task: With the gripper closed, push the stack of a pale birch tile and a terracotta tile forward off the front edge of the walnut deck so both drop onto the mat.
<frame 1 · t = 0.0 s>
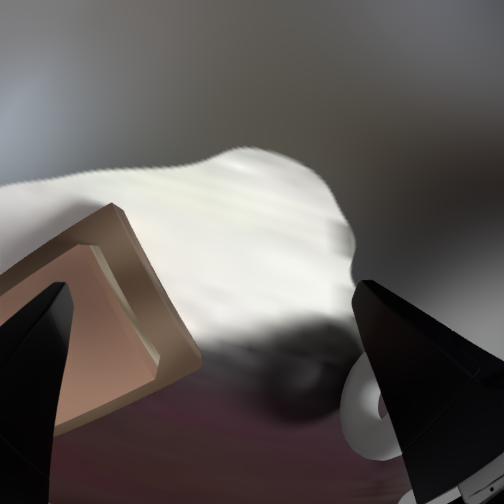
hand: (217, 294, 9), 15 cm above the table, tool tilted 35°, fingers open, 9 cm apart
tile upper: (69, 337, 16), point 6 cm above the table, touching tile lower
donut: (353, 378, 27), on the table
tile lower: (79, 329, 18), point 4 cm above the table, touching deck, tile upper
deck: (85, 323, 22), on the table
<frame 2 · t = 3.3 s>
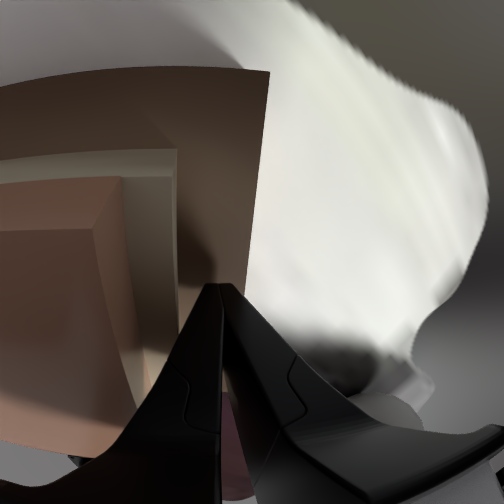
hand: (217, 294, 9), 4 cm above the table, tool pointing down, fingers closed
tile upper: (7, 324, 7), point 6 cm above the table, touching gripper
donut: (341, 399, 24), on the table
tile lower: (54, 282, 9), point 4 cm above the table, touching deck
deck: (65, 222, 12), on the table
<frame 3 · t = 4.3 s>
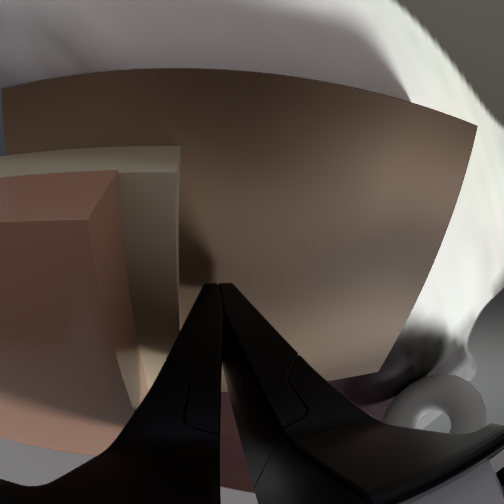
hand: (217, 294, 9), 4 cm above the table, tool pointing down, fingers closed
tile upper: (4, 320, 7), point 6 cm above the table, touching tile lower
donut: (409, 383, 25), on the table
tile lower: (55, 279, 9), point 4 cm above the table, touching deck, gripper, tile upper
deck: (235, 221, 13), on the table
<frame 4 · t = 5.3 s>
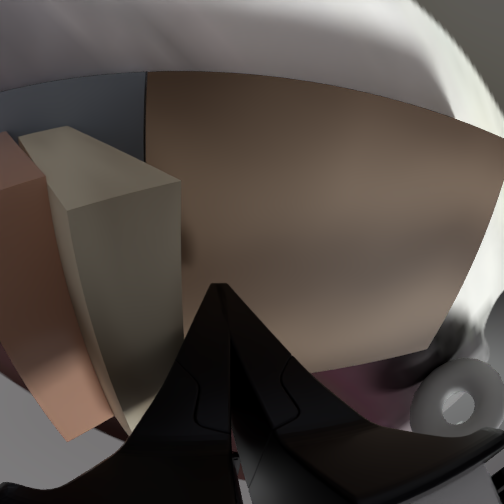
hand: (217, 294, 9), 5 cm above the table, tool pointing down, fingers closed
tile upper: (38, 262, 9), point 4 cm above the table, tilted 53°, touching mat
mat: (32, 222, 12), on the table
donut: (433, 369, 27), on the table
tile lower: (112, 267, 10), point 4 cm above the table, tilted 56°, touching gripper, mat
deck: (317, 218, 15), on the table
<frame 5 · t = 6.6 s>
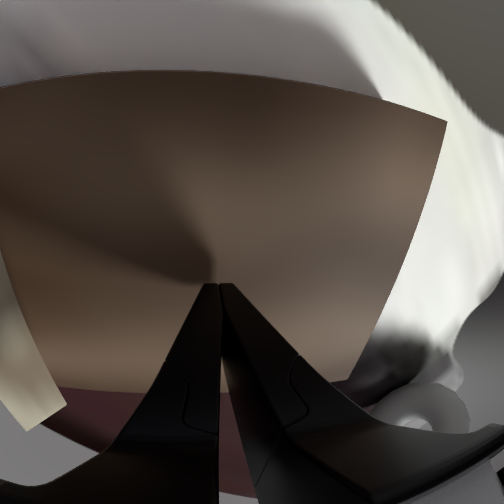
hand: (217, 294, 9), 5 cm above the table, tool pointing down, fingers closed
donut: (391, 390, 25), on the table
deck: (196, 223, 13), on the table
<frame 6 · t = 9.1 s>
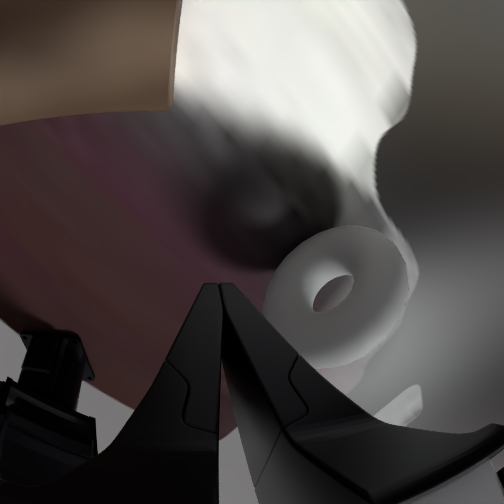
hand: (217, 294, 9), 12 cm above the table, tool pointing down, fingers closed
donut: (307, 248, 24), on the table
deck: (65, 14, 12), on the table
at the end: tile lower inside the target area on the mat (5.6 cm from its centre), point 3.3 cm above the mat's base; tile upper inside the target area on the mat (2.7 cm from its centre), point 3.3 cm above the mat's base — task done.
